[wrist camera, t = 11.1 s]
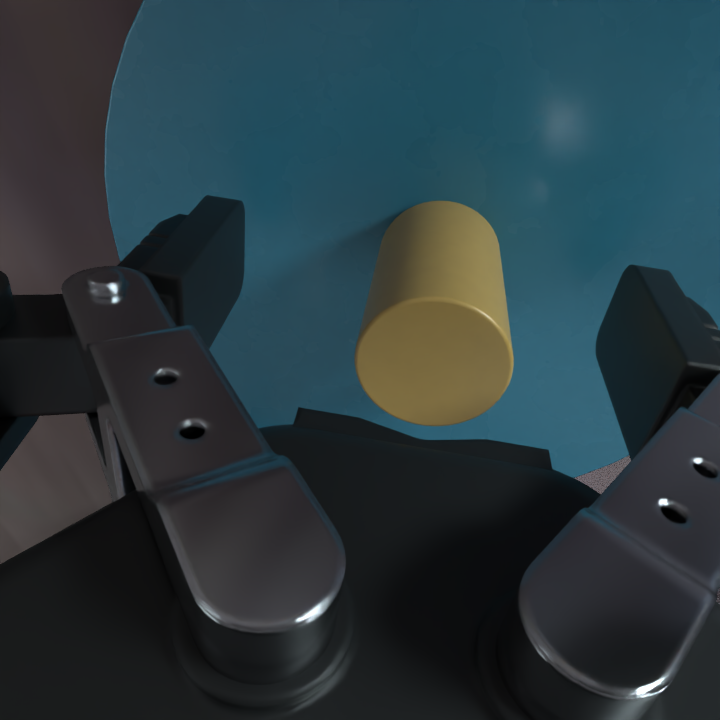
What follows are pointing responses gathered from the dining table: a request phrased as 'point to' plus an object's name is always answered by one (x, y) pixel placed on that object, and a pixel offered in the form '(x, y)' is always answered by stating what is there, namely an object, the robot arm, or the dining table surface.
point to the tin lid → (429, 196)
